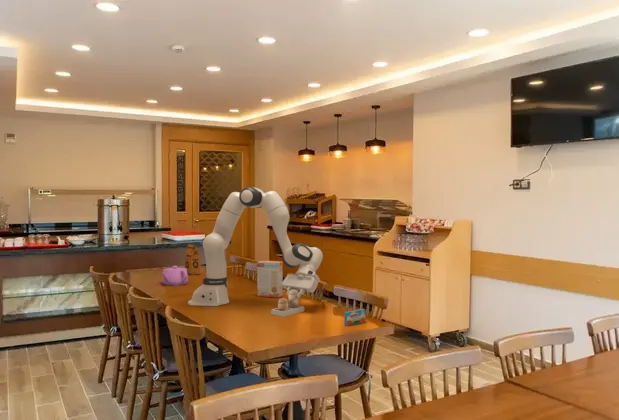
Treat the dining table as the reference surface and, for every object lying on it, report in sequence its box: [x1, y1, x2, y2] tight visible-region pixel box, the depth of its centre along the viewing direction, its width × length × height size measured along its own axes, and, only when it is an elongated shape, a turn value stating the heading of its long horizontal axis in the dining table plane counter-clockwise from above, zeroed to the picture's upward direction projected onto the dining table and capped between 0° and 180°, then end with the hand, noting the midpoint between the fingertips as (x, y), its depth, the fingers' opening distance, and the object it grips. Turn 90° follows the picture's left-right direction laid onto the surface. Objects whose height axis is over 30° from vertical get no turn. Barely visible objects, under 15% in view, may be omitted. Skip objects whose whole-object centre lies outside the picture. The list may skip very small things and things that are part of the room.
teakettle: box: [161, 265, 189, 287], centre depth 341 cm, size 17×17×12 cm
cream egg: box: [287, 289, 299, 306], centre depth 260 cm, size 5×5×8 cm
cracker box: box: [256, 260, 284, 299], centre depth 301 cm, size 14×6×21 cm, turn 71°
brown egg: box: [277, 297, 288, 312], centre depth 254 cm, size 5×5×8 cm
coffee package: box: [184, 244, 201, 276], centre depth 384 cm, size 10×12×22 cm
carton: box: [270, 304, 305, 318], centre depth 257 cm, size 16×8×3 cm, turn 141°
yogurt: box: [343, 308, 366, 327], centre depth 238 cm, size 12×2×6 cm, turn 129°
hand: (292, 296), depth 259 cm, fingers closed on cream egg, 5 cm apart
